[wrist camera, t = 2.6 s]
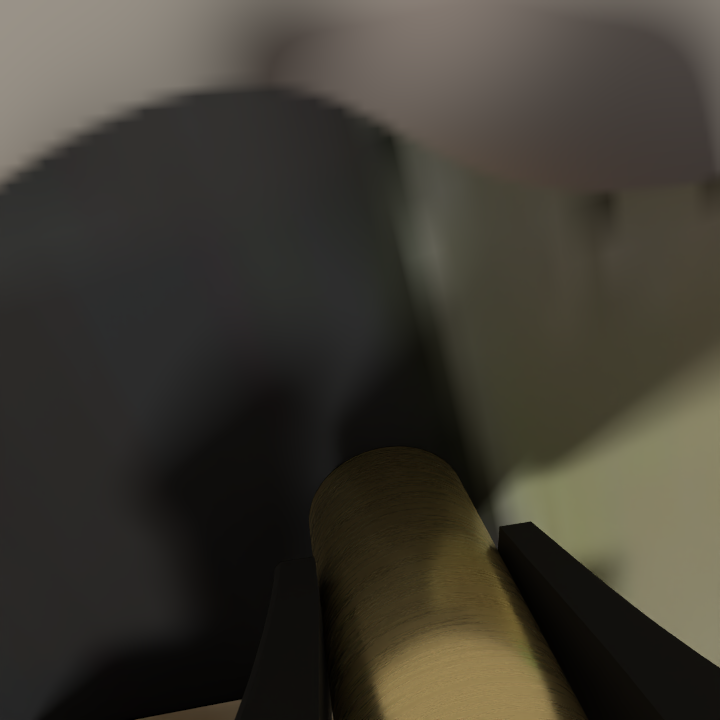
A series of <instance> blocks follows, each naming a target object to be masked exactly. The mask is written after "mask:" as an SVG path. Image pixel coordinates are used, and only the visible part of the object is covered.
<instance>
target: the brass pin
mask: <svg viewBox="0 0 720 720" xmlns="http://www.w3.org/2000/svg"><path fill="white" fill-rule="evenodd" d="M309 528H310V536H311V544H312V552H313V557H315V563H316V571H317V578H318V586H319V594H320V603H321V612H322V620H323V629H324V641H325V655H326V665H327V673H328V681H329V690H330V698H331V706H332V714H333V720H588V718H587V716H586V714H585V712H584V710H583V709H582V707H581V705H580V703H579V701H578V699H577V697H576V696H575V694H574V692H573V690H572V688H571V686H570V684H569V683H568V681H567V679H566V677H565V675H564V673H563V671H562V669H561V668H560V666H559V664H558V662H557V660H556V658H555V656H554V655H553V653H552V651H551V649H550V647H549V645H548V643H547V641H546V640H545V638H544V636H543V634H542V632H541V630H540V628H539V627H538V625H537V623H536V621H535V619H534V617H533V615H532V613H531V612H530V610H529V608H528V606H527V604H526V602H525V600H524V599H523V597H522V595H521V593H520V591H519V589H518V587H517V586H516V584H515V582H514V580H513V578H512V576H511V574H510V572H509V571H508V569H507V567H506V565H505V563H504V561H503V559H502V558H501V556H500V554H499V552H498V550H497V548H496V546H495V545H494V543H493V541H492V539H491V537H490V535H489V533H488V531H487V530H486V528H485V526H484V524H483V522H482V520H481V518H480V517H479V515H478V513H477V511H476V509H475V507H474V505H473V503H472V502H471V500H470V498H469V496H468V494H467V492H466V490H465V489H464V487H463V485H462V483H461V481H460V479H459V477H458V476H457V474H456V473H455V471H454V470H453V469H452V468H451V466H450V465H449V464H448V463H446V462H445V461H444V460H443V459H441V458H440V457H438V456H436V455H435V454H432V453H430V452H428V451H425V450H421V449H418V448H412V447H401V446H394V447H384V448H379V449H374V450H371V451H368V452H364V453H362V454H360V455H357V456H355V457H353V458H351V459H350V460H348V461H346V462H344V463H343V464H342V465H340V466H339V467H338V468H336V469H335V470H334V471H333V472H332V473H331V474H330V475H329V476H328V477H327V478H326V479H325V480H324V482H323V483H322V484H321V486H320V487H319V489H318V490H317V492H316V494H315V496H314V498H313V501H312V504H311V507H310V513H309Z"/></svg>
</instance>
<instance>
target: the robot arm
mask: <svg viewBox="0 0 720 720" xmlns="http://www.w3.org/2000/svg"><path fill="white" fill-rule="evenodd" d="M498 552H499V554H500V556H501V558H502V559H503V561H504V563H505V565H506V567H507V569H508V571H509V572H510V574H511V576H512V578H513V580H514V582H515V584H516V586H517V587H518V589H519V591H520V593H521V595H522V597H523V599H524V600H525V602H526V604H527V606H528V608H529V610H530V612H531V613H532V615H533V617H534V619H535V621H536V623H537V625H538V627H539V628H540V630H541V632H542V634H543V636H544V638H545V640H546V641H547V643H548V645H549V647H550V649H551V651H552V653H553V655H554V656H555V658H556V660H557V662H558V664H559V666H560V668H561V669H562V671H563V673H564V675H565V677H566V679H567V681H568V683H569V684H570V686H571V688H572V690H573V692H574V694H575V696H576V697H577V699H578V701H579V703H580V705H581V707H582V709H583V710H584V712H585V714H586V716H587V718H588V720H720V668H719V667H718V666H716V665H715V664H713V663H712V662H710V661H709V660H707V659H706V658H704V657H703V656H701V655H700V654H699V653H697V652H696V651H694V650H693V649H691V648H690V647H689V646H687V645H686V644H684V643H683V642H682V641H680V640H679V639H677V638H676V637H675V636H673V635H672V634H670V633H669V632H668V631H666V630H665V629H663V628H662V627H661V626H659V625H658V624H657V623H655V622H654V621H653V620H651V619H650V618H649V617H647V616H646V615H645V614H643V613H642V612H641V611H640V610H638V609H637V608H636V607H634V606H633V605H632V604H631V603H629V602H628V601H627V600H626V599H624V598H623V597H622V596H620V595H619V594H618V593H617V592H615V591H614V590H613V589H612V588H610V587H609V586H608V585H606V584H605V583H604V582H603V581H602V580H600V579H599V578H598V577H597V576H595V575H594V574H593V573H592V572H591V571H589V570H588V569H587V568H586V567H585V566H583V565H582V564H581V563H580V562H579V561H577V560H576V559H575V558H574V557H573V556H571V555H570V554H569V553H568V552H567V551H565V550H564V549H563V548H562V547H561V546H559V545H558V544H557V543H556V542H555V541H554V540H552V539H551V538H550V537H549V536H548V535H546V534H545V533H544V532H543V531H542V530H540V529H539V528H538V527H537V526H536V525H534V524H533V523H532V522H525V523H519V524H513V525H506V526H500V527H499V542H498ZM235 720H332V706H331V698H330V690H329V681H328V673H327V665H326V655H325V641H324V629H323V620H322V612H321V603H320V594H319V586H318V578H317V571H316V563H315V557H308V558H302V559H296V560H290V561H284V562H280V563H279V564H278V565H277V566H276V567H275V570H274V581H273V588H272V594H271V599H270V604H269V609H268V613H267V617H266V621H265V625H264V629H263V633H262V637H261V640H260V644H259V647H258V650H257V654H256V657H255V660H254V664H253V667H252V671H251V674H250V677H249V680H248V683H247V686H246V689H245V692H244V695H243V697H242V700H241V703H240V706H239V709H238V711H237V714H236V717H235Z"/></svg>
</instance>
